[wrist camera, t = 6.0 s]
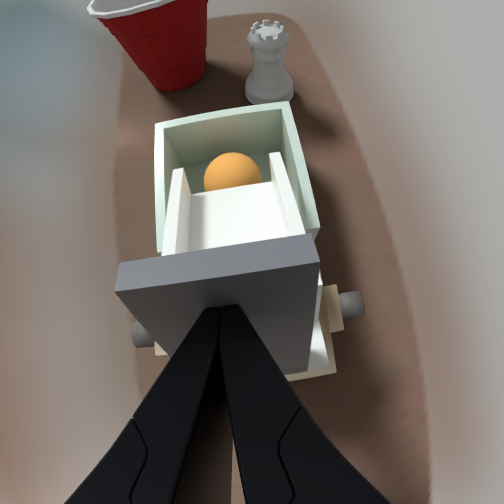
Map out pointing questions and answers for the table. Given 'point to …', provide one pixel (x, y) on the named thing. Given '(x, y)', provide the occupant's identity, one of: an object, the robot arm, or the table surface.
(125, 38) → the plastic cup
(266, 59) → the rook chess piece
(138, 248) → the table surface
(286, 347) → the chute
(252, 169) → the ball
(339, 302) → the stand
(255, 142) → the pale green open box
